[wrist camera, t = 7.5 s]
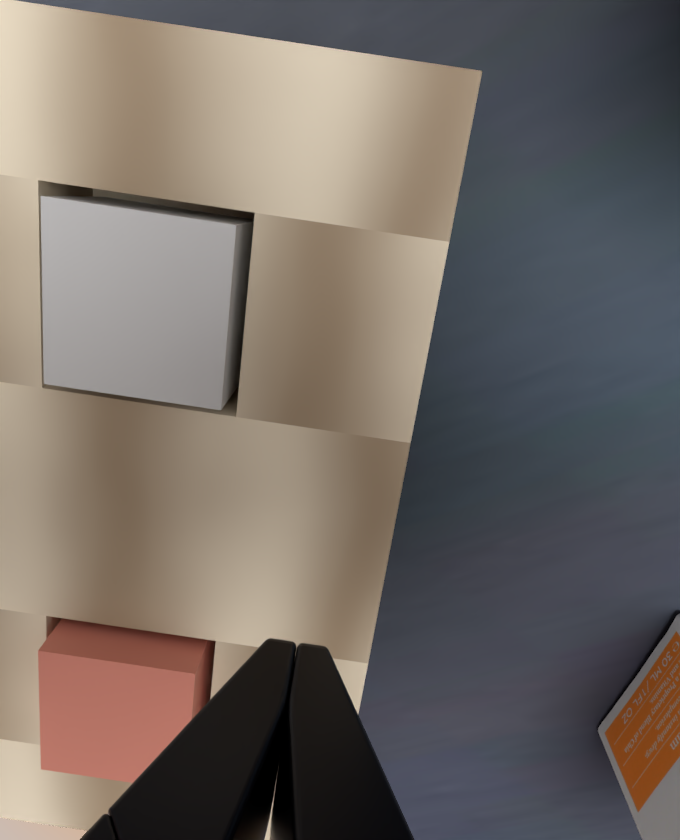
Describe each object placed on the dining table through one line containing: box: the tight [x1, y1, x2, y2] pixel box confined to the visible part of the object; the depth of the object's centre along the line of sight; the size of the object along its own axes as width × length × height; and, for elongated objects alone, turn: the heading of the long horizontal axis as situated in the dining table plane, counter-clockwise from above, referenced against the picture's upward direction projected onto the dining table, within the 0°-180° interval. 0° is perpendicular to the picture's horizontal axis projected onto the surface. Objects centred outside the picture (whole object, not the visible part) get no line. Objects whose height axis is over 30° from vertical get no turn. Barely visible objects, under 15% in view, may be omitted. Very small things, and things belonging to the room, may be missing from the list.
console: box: [0, 0, 482, 840], centre depth 19 cm, size 14×24×4 cm, turn 172°
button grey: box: [41, 196, 254, 410], centre depth 16 cm, size 4×4×4 cm
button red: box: [38, 618, 216, 783], centre depth 20 cm, size 4×4×4 cm
